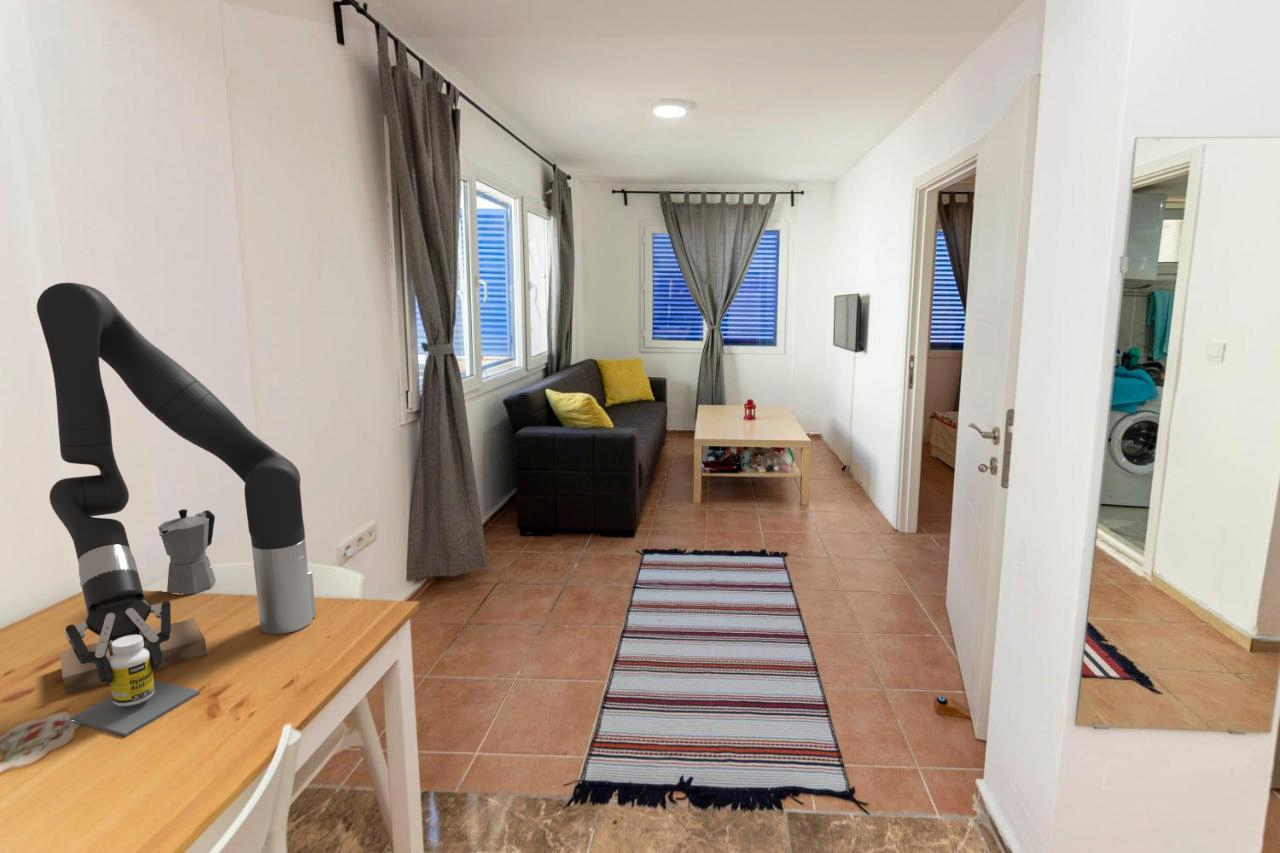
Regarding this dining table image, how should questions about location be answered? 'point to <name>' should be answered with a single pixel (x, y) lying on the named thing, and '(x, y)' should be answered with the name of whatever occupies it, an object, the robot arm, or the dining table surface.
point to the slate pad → (134, 710)
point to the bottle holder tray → (178, 648)
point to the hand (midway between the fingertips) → (133, 674)
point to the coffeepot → (188, 552)
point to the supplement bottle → (131, 671)
